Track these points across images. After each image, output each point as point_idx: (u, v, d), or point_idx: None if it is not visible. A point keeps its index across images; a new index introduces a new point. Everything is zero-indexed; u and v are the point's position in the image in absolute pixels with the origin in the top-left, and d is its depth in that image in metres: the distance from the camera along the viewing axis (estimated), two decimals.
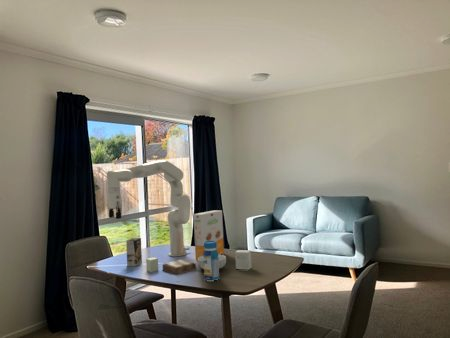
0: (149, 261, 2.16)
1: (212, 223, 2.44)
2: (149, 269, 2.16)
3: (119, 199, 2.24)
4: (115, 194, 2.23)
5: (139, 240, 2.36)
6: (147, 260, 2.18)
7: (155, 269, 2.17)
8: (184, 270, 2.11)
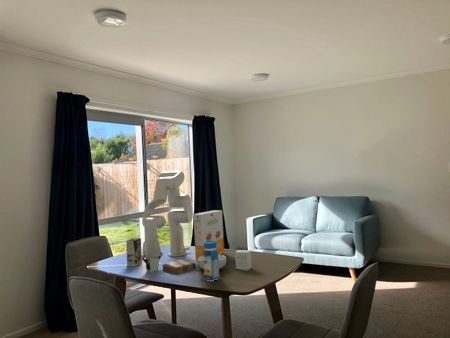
0: (149, 261, 2.16)
1: (212, 223, 2.44)
2: None
3: None
4: None
5: (139, 240, 2.36)
6: None
7: (155, 269, 2.17)
8: (184, 270, 2.11)
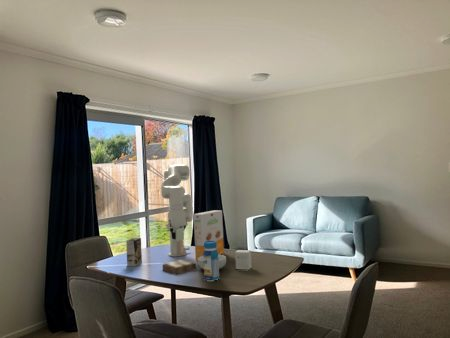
0: (175, 230, 2.14)
1: (212, 223, 2.44)
2: None
3: None
4: None
5: (139, 240, 2.36)
6: None
7: (180, 238, 2.15)
8: (184, 270, 2.11)
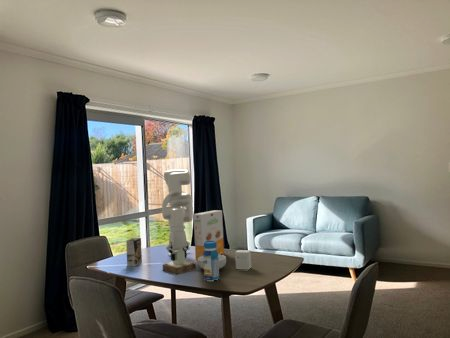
0: (176, 253, 2.15)
1: (212, 223, 2.44)
2: (176, 262, 2.15)
3: None
4: None
5: (139, 240, 2.36)
6: (174, 252, 2.16)
7: (181, 262, 2.15)
8: (184, 270, 2.11)
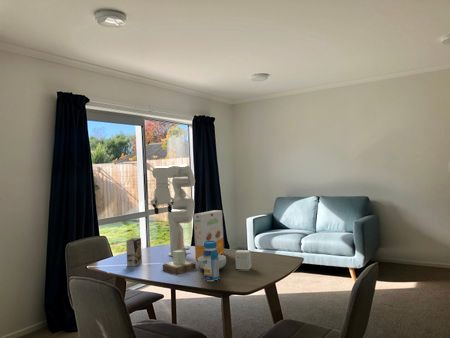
0: (176, 253, 2.15)
1: (212, 223, 2.44)
2: (176, 262, 2.15)
3: None
4: None
5: (139, 240, 2.36)
6: (174, 252, 2.16)
7: (181, 262, 2.15)
8: (184, 270, 2.11)
